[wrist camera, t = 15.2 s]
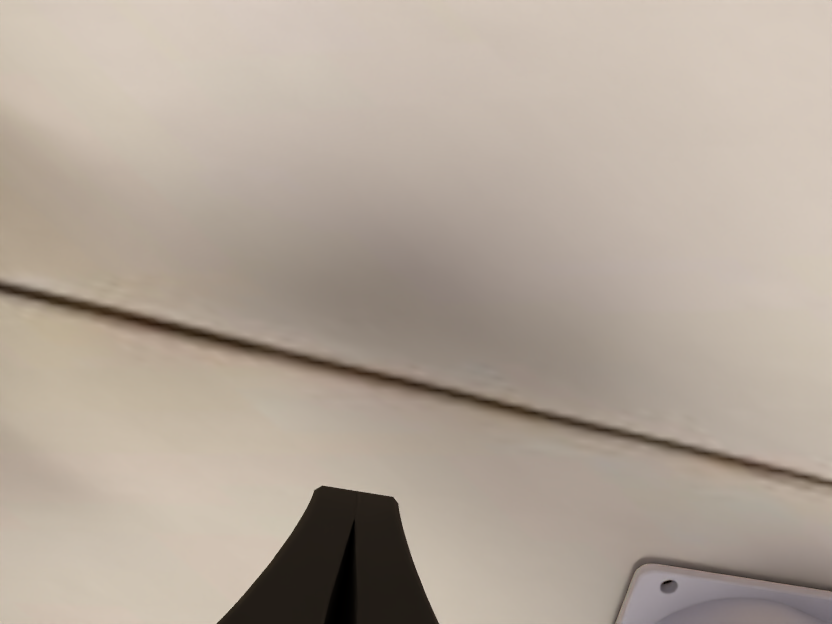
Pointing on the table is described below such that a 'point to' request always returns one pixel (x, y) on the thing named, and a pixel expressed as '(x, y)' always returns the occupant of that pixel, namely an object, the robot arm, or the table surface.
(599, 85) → the table surface
